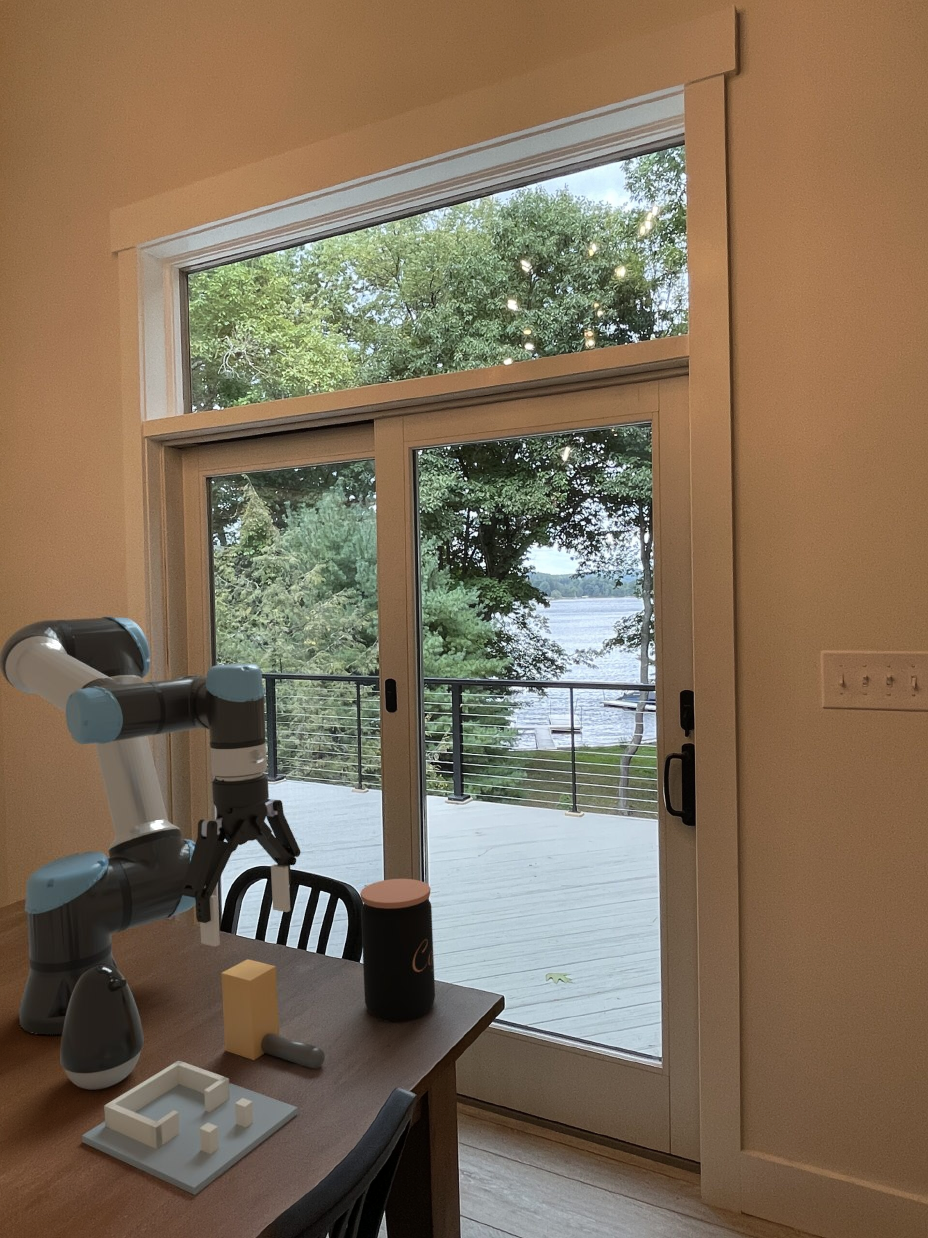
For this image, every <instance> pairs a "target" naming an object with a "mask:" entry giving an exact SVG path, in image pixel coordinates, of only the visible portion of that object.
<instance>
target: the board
mask: <svg viewBox="0 0 928 1238" xmlns="http://www.w3.org/2000/svg"><path fill="white" fill-rule="evenodd" d="M103 1108H104V1120H103V1122H101V1123H100V1124H98V1125H96V1126H95V1127H93V1128H91V1129H90V1130H88V1131H86V1132H85V1133H84V1134H82V1135H81V1140H82V1144H83V1143H84V1144H86V1145H87V1146H90V1147H92V1148H94V1149H96V1150H98V1151H100V1152H103V1153H105V1154H107V1155H108V1156H111V1157H113V1158H115V1159H117V1160H119V1161H121V1162H124V1163H126V1164H128V1165H130V1166H132V1167H135V1168H137V1169H138V1170H141V1171H143V1172H145V1173H147V1174H149V1175H151V1176H153V1177H156V1178H158V1179H159V1180H161V1181H164V1182H166V1183H169V1184H170V1185H172V1186H175V1187H177V1188H179V1189H181V1190H183V1191H186V1192H187V1193H189V1194H192V1195H193V1196H196V1195H197V1194H198V1193H200V1192H201V1191H202V1190H203V1189H205V1188H206V1187H207V1186H208V1185H210V1184H211V1183H212V1182H213V1181H215V1180H216V1179H217V1178H218V1177H220V1176H221V1175H223V1174H224V1173H225V1172H226V1171H228V1170H229V1169H230V1168H231V1167H232V1166H234V1165H235V1164H236V1163H238V1162H239V1161H240V1160H241V1159H243V1158H244V1157H245V1156H246V1155H247V1154H249V1153H250V1152H252V1151H253V1150H254V1149H255V1148H257V1147H258V1146H259V1145H260V1144H261V1143H264V1141H266V1139H268V1138H269V1137H271V1135H273V1134H274V1133H276V1132H277V1131H278V1130H279V1129H281V1128H282V1127H284V1125H286V1124H287V1123H288V1122H289V1121H291V1120H292V1119H293V1118H294V1117H296V1116H297V1115H299V1112H298V1111H299V1110H298V1109H299V1108H298V1106H294V1105H292V1104H289V1103H287V1102H284V1101H282V1100H280V1099H279V1100H278V1099H275V1098H273V1097H269V1096H267V1095H265V1094H262V1093H259V1092H256V1091H253V1090H250V1089H247V1088H246V1087H243V1086H240V1085H237V1084H233V1083H231V1082H230V1079H229V1078H228V1077H227V1076H223V1075H220V1074H219V1073H218V1074H217V1073H216V1072H212V1071H209V1070H207V1069H203V1068H201V1067H199V1066H195V1065H192V1064H191V1063H187V1062H184V1061H181V1060H177V1061H175V1062H174V1063H172V1064H170V1065H169V1066H167V1067H166V1068H163V1069H162V1070H161V1071H159V1072H158V1073H156V1074H154V1075H152V1076H151V1077H149V1078H148V1079H145V1081H142V1082H141V1083H139V1084H138V1085H136V1086H135V1087H132V1088H130V1089H129V1090H128V1091H126V1092H124V1093H122V1094H121V1095H120V1096H118V1097H116V1098H114V1099H112V1101H109V1102H108V1103H106V1104H105V1105H104V1106H103Z"/></svg>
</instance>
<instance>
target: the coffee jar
mask: <svg viewBox="0 0 928 1238" xmlns="http://www.w3.org/2000/svg"><path fill="white" fill-rule="evenodd" d="M359 896H360V899H361V900H360V901H361V903H363V904H362V907H361V909H360V916H361V917H360V918H361V919H360V920H361V921H360V922H361V939H362V942H361V944H362V947H361V948H362V967H363V968H362V969H363V988H364V991H363V992H364V1003H365V1006H366V1008H367V1010H368V1011H369V1012H370V1014H371V1015H372V1016H373V1017H374V1018H375V1019H377V1020H380V1019H381V1020H380V1021H383V1022H388V1021H389V1023H390V1022H391V1023H404V1022H408V1020H410V1021H413V1020H415V1019H418V1018H421V1017H423V1016H424V1015H425V1014H427V1013H428V1012H429V1011H430V1009H432V1006H433V1005H434V1002H435V998H436V991H435V990H436V989H435V987H436V986H435V985H436V984H435V982H436V981H435V962H434V959H435V958H434V937H433V936H434V935H433V934H434V933H433V915H432V914H433V911H432V910H433V909H432V902H431V901H430V900H429V898H430V896H431V886H430V885H429V884H428V883H426V882H424V881H421V880H417V879H412V878H411V879H410V878H392V879H384V880H380V881H376V882H372V883H371V884H368V885H366V886H365V887H363V888H362V889H361V891H360V894H359ZM403 1021H404V1022H403Z"/></svg>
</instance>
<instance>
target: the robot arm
mask: <svg viewBox="0 0 928 1238" xmlns="http://www.w3.org/2000/svg"><path fill="white" fill-rule="evenodd" d="M150 650H151V649H150V646H149V643H148V639H147V637H146V635H145V632H144V631H143V630H142V628H141V627H140V626H139V624H137V622H135V621H134V620H132V619H131V618H128V617H112V616H101V617H96V618H95V617H94V618H75V619H74V618H73V619H47V620H45V619H44V620H41V621H40V620H39V621H37V622H33V623H30V624H28V625H25V626H23V627H22V628H19V630H17V631H15V632H14V633H13V634H12V635H11V636H10V637H8V639H7V640H6V641H5V643H4V645H3V646H2V649H1V651H0V672H1V674H2V676H3V677H4V679H5V680H6V682H8V684H9V685H11V686H12V687H14V688H15V689H16V690H18V691H20V692H22V693H25V694H29V695H38V696H39V697H41V698H42V699H44V700H45V701H47V702H48V703H49V704H51V705H52V706H54V707H56V709H58V710H60V711H61V712H63V713H64V714H65V723H66V727H67V730H68V732H69V733H70V735H71V736H70V737H71V738H72V739H73V741H75V742H76V743H77V744H80V745H89V744H94V747H95V751H96V755H97V761H98V764H99V769H100V774H101V778H102V783H103V787H104V788H103V789H104V792H105V797H106V801H107V805H108V809H109V814H110V818H111V824H112V826H113V832H114V839H113V841H112V842H111V844H110V845H109V846H108V850H107V851H108V854H109V855H108V856H109V858H108V857H107V855H106V854H105V853H104V852H100V851H95V850H94V851H85V852H81V853H79V852H78V853H77V852H76V853H73V854H69V855H66V856H61V857H59V858H56V859H54V860H51V861H50V862H49V861H48V862H47V863H46V864H44V865H43V864H42V865H41V866H40V867H39V868H37V869H36V870H35V871H33V872H32V873H31V874H30V876H29V878H28V879H27V881H26V885H25V886H26V887H25V890H26V891H25V903H24V910H25V912H26V924H27V925H26V926H27V939H28V940H27V941H28V942H27V943H28V959H29V973H28V976H27V980H26V982H25V986H24V991H23V994H22V997H21V1002H20V1004H19V1009H18V1017H19V1026H20V1025H21V1026H20V1028H21V1027H22V1028H23V1029H24V1030H26V1031H28V1032H27V1033H29V1032H33V1033H37V1034H47V1035H46V1036H56V1035H57V1034H59V1035H62V1031H63V1025H64V1020H65V1015H66V1011H67V1007H68V1004H69V1000H70V997H71V994H72V992H73V989H74V987H75V985H76V983H77V981H78V979H79V978H80V976H81V975H82V974H83V972H84V971H86V970H87V969H88V968H90V967H92V966H94V965H97V964H109V965H112V966H114V967H115V968H116V969H117V970H118V971H119V972H120V969H119V968H118V967H119V966H118V965H117V963H116V959H115V958H114V955H113V949H112V935H114V934H117V933H120V932H124V931H126V930H130V929H134V928H136V927H140V926H144V925H146V924H147V925H148V924H150V923H154V922H157V921H161V920H164V919H166V920H167V919H168V920H169V919H170V918H173V917H175V916H176V915H179V914H181V913H184V912H187V911H189V910H191V909H192V908H193V907H194V906H195V915H196V920H197V922H199V924H200V926H199V928H200V930H199V931H200V943H201V944H202V945H207V946H210V947H218V946H220V945H221V944H220V943H221V941H220V940H221V939H220V924H219V922H220V921H219V906H218V905H219V901H218V896H217V895H214V894H213V893H214V891H215V889H216V887H217V886H218V884H219V883H218V882H219V880H220V879H221V877H222V875H223V873H224V870H225V868H226V866H227V864H228V862H229V859H230V857H231V856H232V854H233V852H236V850H237V849H238V847H239V846H242V845H244V844H247V842H249V841H252V842H253V841H255V840H256V842H258V844H259V845H260V846H261V847H262V849H263V850H264V851H265V852H266V853H267V855H269V857H271V859H272V861H274V864H272V865H270V872H271V873H270V875H271V877H270V878H271V879H270V880H271V891H272V892H271V894H272V896H271V897H272V909H273V910H274V911H279V912H285V913H288V912H290V911H291V898H290V897H291V896H290V886H291V882H292V873H291V871H292V870H291V866H295V865H296V864H297V858H298V857H300V855H301V849H300V846H299V845H298V843H297V841H296V838H295V836H294V833H293V831H292V829H291V827H290V825H289V823H288V820H287V818H286V815H285V813H284V806H283V801H282V800H281V799H273V798H270V794H269V793H270V792H269V779H268V778H269V776H268V775H267V774H266V773H265V772H266V770H267V769H268V763H267V760H268V759H267V747H266V743H267V742H266V717H265V716H266V715H265V712H266V711H265V710H266V709H265V688H264V684H263V674H262V670H261V667H260V666H259V665H257V664H255V663H229V664H227V663H226V664H219V665H213V666H210V667H209V668H208V670H207V672H206V676H203V675H199V674H195V675H185V676H181V677H178V678H175V679H165V680H157V681H148V682H147V681H146V682H145V681H144V678H145V677H146V676H147V674H148V673H149V670H150V667H151V659H150V656H151V651H150ZM197 729H199V730H200V729H203V730H208V733H209V740H210V743H209V745H210V746H209V747H210V764H211V765H210V769H211V772H210V773H211V775H212V776H213V777H214V779H213V780H212V781H211V783H212V787H211V788H212V803H213V805H214V807H215V808H216V810H217V813H216V818H214V819H200V820H199V821H198V822H197V837H196V840H195V841H194V840H192V839H188V838H184V839H183V836H182V832H181V828H180V827H179V826H177V825H175V824H173V823H171V822H170V821H169V818H168V815H167V810H166V807H165V802H164V799H163V794H162V791H161V790H162V789H161V785H160V782H159V777H158V773H157V770H156V766H155V760H154V757H153V753H152V750H151V749H152V748H151V746H150V740H149V736H153V735H154V736H156V735H163V734H169V733H176V732H182V731H183V732H184V731H190V730H197ZM266 820H267V822H268V824H269V825H268V824H267V822H265V821H266ZM272 832H273V833H272ZM275 863H276V864H275ZM22 1028H21V1029H22ZM23 1029H22V1030H23ZM24 1030H23V1031H24ZM26 1031H25V1032H26ZM37 1034H36V1035H37ZM48 1034H50V1035H48ZM51 1034H52V1035H51ZM53 1034H54V1035H53ZM55 1034H56V1035H55ZM57 1036H58V1035H57Z"/></svg>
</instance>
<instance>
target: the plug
mask: <svg viewBox="0 0 928 1238" xmlns="http://www.w3.org/2000/svg"><path fill="white" fill-rule="evenodd" d="M277 981H278V980H277V966H276V965H272V964H269V963H265V962H261V961H257V960H252V959H245V960H243V961H241V962H240V963H237V964H236V965H233V966H232V967H230V968H229V969H225V971H223V972H221V989H222V991H221V992H222V993H221V994H222V1008H223V1010H222V1011H223V1028H224V1029H223V1031H224V1033H223V1034H224V1036H223V1037H224V1049H225V1050H224V1051H225V1052H229V1053H231V1054H234V1055H237V1056H241V1057H244V1058H246V1059H248V1060H252V1061H255V1060H257V1059H258V1058H260V1057H261V1056H262V1055H264V1054H267V1055H270V1056H273V1057H276V1058H279V1059H282V1060H285V1061H287V1062H291V1063H294V1064H298V1065H300V1066H303V1067H307V1068H309V1069H318V1068H320V1067H321V1066H323V1064H324V1063H325V1057H326V1056H325V1052H324V1051H323V1049H322V1048H321V1047H318V1046H316V1045H312V1044H309V1043H306V1042H302V1041H299V1040H297V1039H292V1038H290V1037H287V1036H284V1035H280V1025H279V1007H278V1006H279V1005H278V1003H279V1001H278V1000H279V999H278V982H277Z"/></svg>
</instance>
